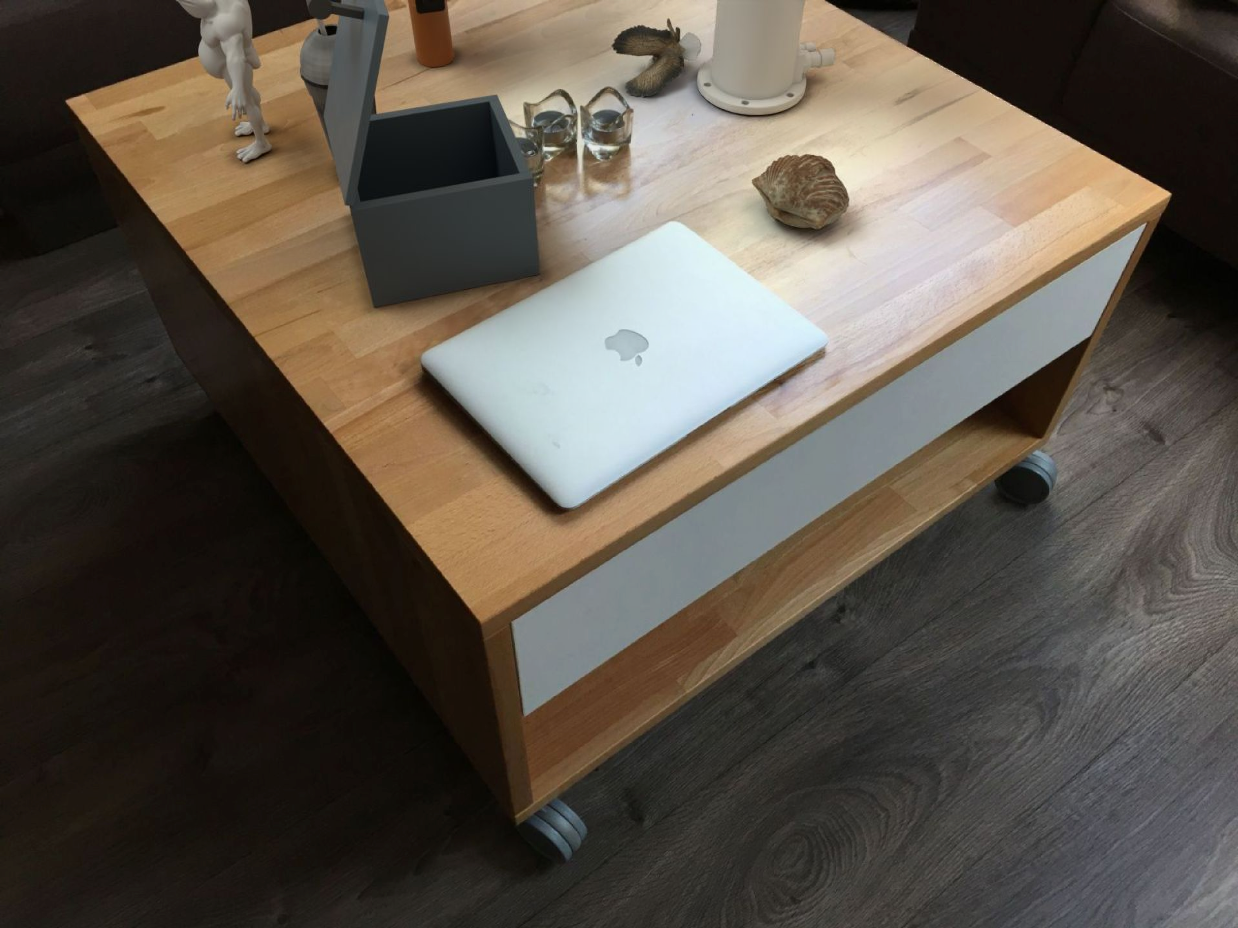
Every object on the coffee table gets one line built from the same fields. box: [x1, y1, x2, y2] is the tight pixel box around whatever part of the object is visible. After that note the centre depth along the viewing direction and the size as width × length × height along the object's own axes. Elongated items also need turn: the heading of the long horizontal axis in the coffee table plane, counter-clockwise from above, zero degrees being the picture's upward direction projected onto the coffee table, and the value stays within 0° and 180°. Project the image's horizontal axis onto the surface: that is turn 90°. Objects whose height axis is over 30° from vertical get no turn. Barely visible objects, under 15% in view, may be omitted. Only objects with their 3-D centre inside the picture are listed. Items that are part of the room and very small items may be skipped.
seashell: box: [751, 153, 850, 230], centre depth 101 cm, size 9×7×8 cm
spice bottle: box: [407, 0, 455, 68], centre depth 119 cm, size 4×4×10 cm
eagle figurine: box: [610, 17, 702, 98], centre depth 118 cm, size 8×7×9 cm
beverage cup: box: [299, 18, 378, 160], centre depth 101 cm, size 7×7×20 cm
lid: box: [305, 0, 390, 207], centre depth 84 cm, size 17×14×5 cm
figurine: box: [175, 0, 272, 163], centre depth 104 cm, size 18×7×18 cm, turn 16°
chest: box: [348, 94, 541, 308], centre depth 96 cm, size 16×14×11 cm
